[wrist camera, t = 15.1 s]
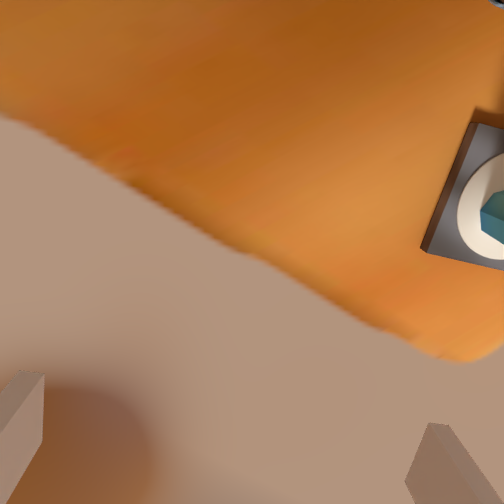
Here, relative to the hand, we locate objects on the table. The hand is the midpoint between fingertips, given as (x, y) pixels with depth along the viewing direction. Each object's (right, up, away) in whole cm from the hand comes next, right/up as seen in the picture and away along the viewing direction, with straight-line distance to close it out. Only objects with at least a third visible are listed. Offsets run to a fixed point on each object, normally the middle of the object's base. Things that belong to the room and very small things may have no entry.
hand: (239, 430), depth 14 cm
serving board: (+26, +11, +27) cm, 39 cm away
